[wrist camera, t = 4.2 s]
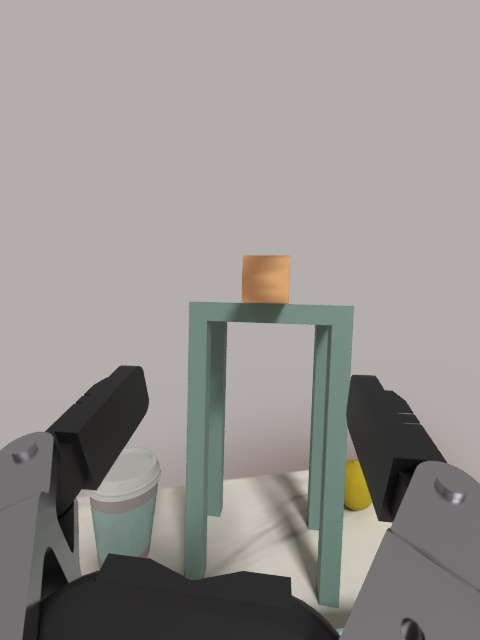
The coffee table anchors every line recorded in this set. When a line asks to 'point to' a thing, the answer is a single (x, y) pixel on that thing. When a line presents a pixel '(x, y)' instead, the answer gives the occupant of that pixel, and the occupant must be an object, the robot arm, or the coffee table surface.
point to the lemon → (356, 487)
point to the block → (265, 279)
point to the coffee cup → (126, 504)
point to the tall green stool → (325, 425)
